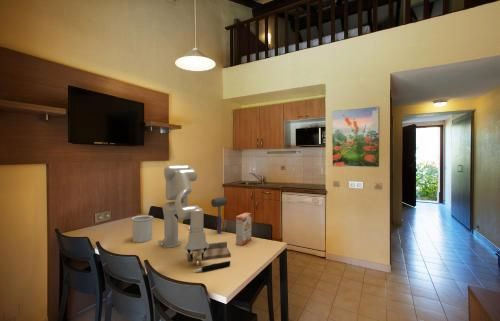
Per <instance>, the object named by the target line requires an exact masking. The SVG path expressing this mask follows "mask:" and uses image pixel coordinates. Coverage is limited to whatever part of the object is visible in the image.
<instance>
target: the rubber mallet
mask: <svg viewBox="0 0 500 321" xmlns="http://www.w3.org/2000/svg"><path fill="white" fill-rule="evenodd" d="M210 204H211V206H212V208H217V216H216V222H217V223H216V224H217V229H216V230H217V234H221V233H222V230H223V229H222V222H223V221H222V210H221V207H223V206H226V205H227V204H228V199H227V198H226V197H224V196H221V197H215V198H212V199H211V202H210Z"/></svg>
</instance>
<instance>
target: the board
mask: <svg viewBox="0 0 500 321" xmlns="http://www.w3.org/2000/svg"><path fill="white" fill-rule="evenodd" d="M208 244H209V248H207V249H206V251H205V252H204V258H203V260H202V261H207V260H214V259H221V258H230V257H231V256H232V254H231V252H230V250H229V248H228V241H221V242H213V243H212V242H211V243H208ZM188 249H189V248H188ZM187 258H188V259H187V260H188V263H193V261H192V260H191V259H190V253H189V252H187Z"/></svg>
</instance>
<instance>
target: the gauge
mask: <svg viewBox="0 0 500 321" xmlns="http://www.w3.org/2000/svg"><path fill="white" fill-rule="evenodd" d="M192 253H193V262H192V264H196V265H197V266H199V265H200V263H202V262H203V260H202V250H201V249H197V250H193V252H192Z"/></svg>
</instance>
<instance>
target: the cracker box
mask: <svg viewBox="0 0 500 321" xmlns="http://www.w3.org/2000/svg"><path fill="white" fill-rule="evenodd" d="M235 223H236V224H235V226H236V227H235V229H236V230H235V244H236V245H238V246H244V245H246V244H247V243H249V242H250V241H251V240H252V213H251V212H244V213H242V214H239V215H236V216H235Z"/></svg>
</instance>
